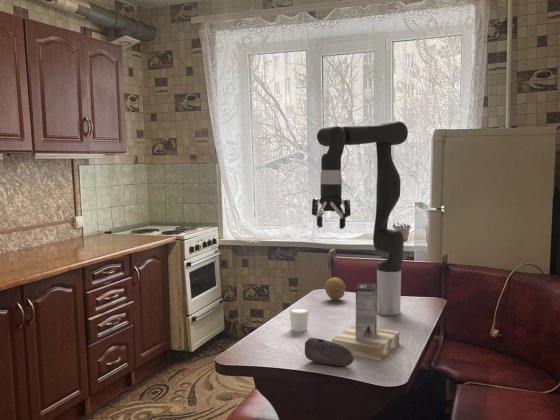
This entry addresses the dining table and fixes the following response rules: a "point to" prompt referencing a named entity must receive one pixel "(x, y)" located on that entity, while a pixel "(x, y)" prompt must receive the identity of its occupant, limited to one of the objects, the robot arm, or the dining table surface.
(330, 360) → the perforated stone tool
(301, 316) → the white faceted cup
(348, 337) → the birch plinth
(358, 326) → the coffee box
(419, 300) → the dining table surface
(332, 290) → the natural sponge
